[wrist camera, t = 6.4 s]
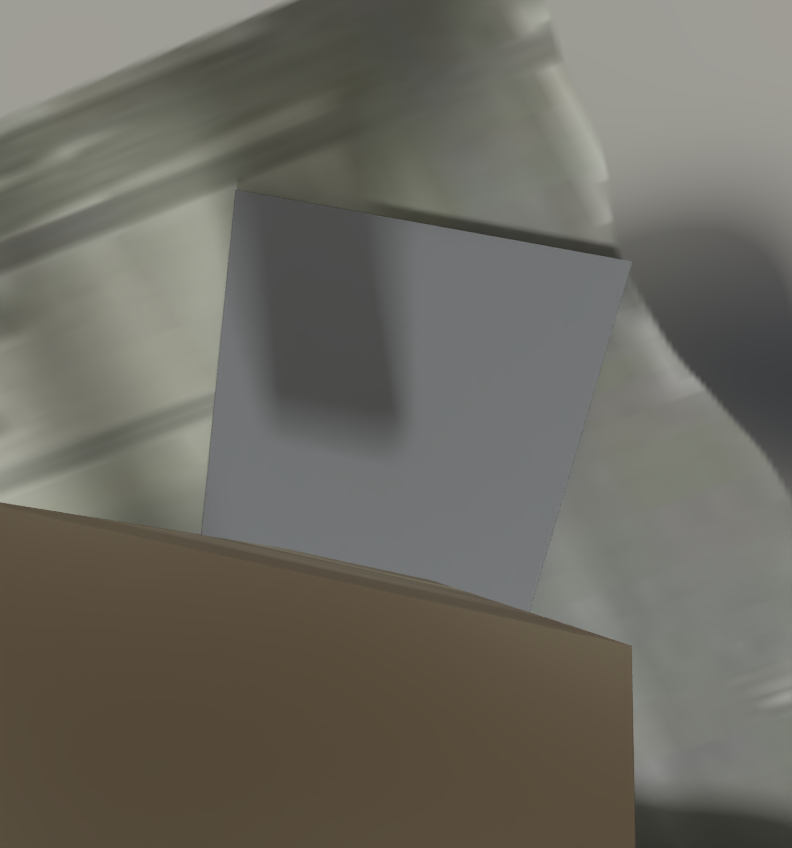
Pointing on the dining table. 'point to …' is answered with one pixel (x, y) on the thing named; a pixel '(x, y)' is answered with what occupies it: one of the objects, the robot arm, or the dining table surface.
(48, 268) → the dining table surface
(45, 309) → the dining table surface
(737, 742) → the dining table surface
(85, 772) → the brown rectangular block
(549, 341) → the rubber mat
